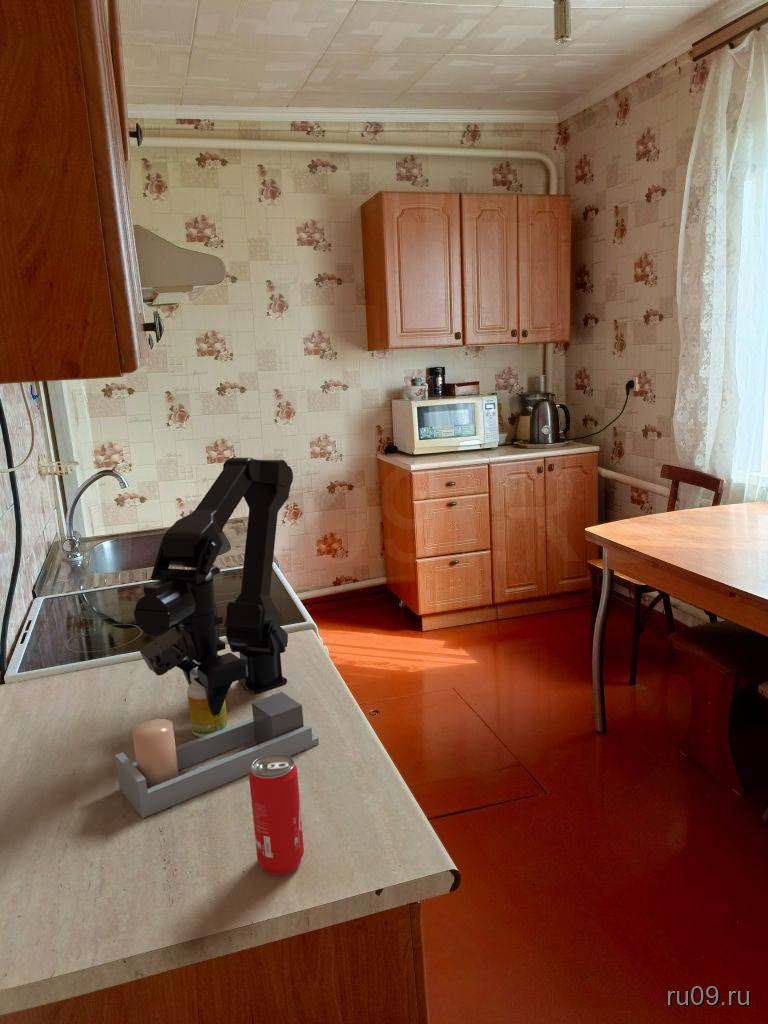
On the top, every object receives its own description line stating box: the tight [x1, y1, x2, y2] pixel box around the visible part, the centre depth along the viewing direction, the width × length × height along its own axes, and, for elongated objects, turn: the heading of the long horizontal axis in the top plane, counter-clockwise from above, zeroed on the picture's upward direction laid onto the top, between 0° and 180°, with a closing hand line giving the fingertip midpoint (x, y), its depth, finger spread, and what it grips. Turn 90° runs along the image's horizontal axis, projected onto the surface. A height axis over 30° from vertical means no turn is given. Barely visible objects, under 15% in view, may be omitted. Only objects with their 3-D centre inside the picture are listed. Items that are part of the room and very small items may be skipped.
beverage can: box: [248, 754, 305, 877], centre depth 81 cm, size 5×5×12 cm
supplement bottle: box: [186, 667, 228, 738], centre depth 112 cm, size 5×5×10 cm
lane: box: [114, 717, 320, 819], centre depth 102 cm, size 26×8×5 cm, turn 128°
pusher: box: [251, 691, 304, 744], centre depth 107 cm, size 5×6×6 cm
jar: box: [132, 718, 180, 789], centre depth 97 cm, size 5×5×9 cm
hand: (207, 708), depth 113 cm, fingers closed on supplement bottle, 5 cm apart
